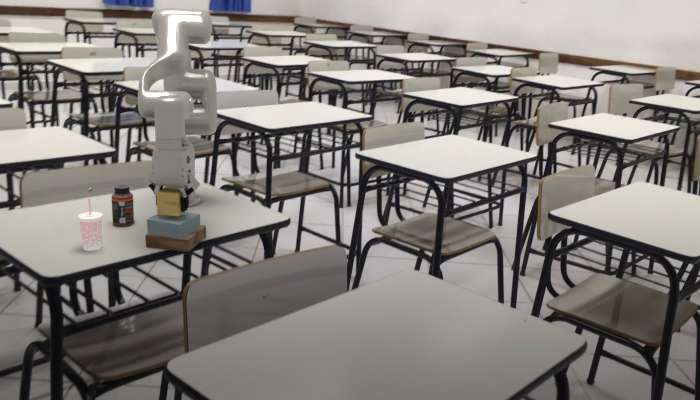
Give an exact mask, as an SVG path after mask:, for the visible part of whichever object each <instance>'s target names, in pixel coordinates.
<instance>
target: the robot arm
mask: <svg viewBox="0 0 700 400" xmlns="http://www.w3.org/2000/svg"><path fill="white" fill-rule="evenodd" d="M212 21H213V20H212V16H211V14H210V12H208V11H207V10H206V9H205V10H203V9H188V8H185V9H184V8H160V9H157V10H154V12H153V13H152V15H151V23H152V24H151V25H152V29H153V32H154V35H155V38H156V39H157V40H156V41H157V46H156V58H155V59H154V60H153V61H152V62H151V63H150V64H148V65H147V66H146V68H145V69H144V71H143V72H142V74H141V76H140V78H139V81H138V87H137V88H138V91H137V108H138V113H139V115H140V116H141V117H142V118H144V119H147V120H148V119H149V120H150V119H151V120H154V131H155V132H154V134H155V135H154V136H155V147H154V148H153V150H152V154H151V155H152V156H151V167H150V168H151V169H150V172H149V173H148V174H147V175H146V176H145V177H144V178H143V182H144V183H145V184H146V185H147V186H148V187H149V189H150V190H151V191H152V192H153V194H154V196H155V205H156V206H157V196H156V192H158V191H160V190H161V189H163V188H164V187H166V186H167V187H177V188H179V189H180V191H181V194H182V197H181V212H184V211H185V212H187V211H188V210H187V209H189V208H190V207H195V206H197V205H199V204H200V203H201V197H200V196H199V195H197V194H196V190H197V189H198V188H199V187H200V186H201V183H200V182H199V181H198V179H197V178H196V166H195V165H196V164H195V163H196V161H195V160H196V158H195V147H194V145H193V143H192V141H190V140H189V138H188V137H187V136H210V135H213V134H215V132H216V131H217V127H218V97H217V96H218V95H217V94H218V93H217V79H216V75H215V74H214V72H213V71H211V70H210V69H205V68H193V67H192V51H191V49H190V48H189V45H207V44H209V42H210V40H211V37H212V30H213V22H212ZM161 80H163V90H160V89H159V90H158V89H157V90H154V89H153V90H151V87H153V85H154V84H155V83H157V82H159V81H161ZM194 100H195V101H200V102H201V103H202V104H195V103H194ZM186 210H187V211H186Z"/></svg>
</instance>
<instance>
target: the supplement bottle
mask: <svg viewBox="0 0 700 400" xmlns="http://www.w3.org/2000/svg"><path fill="white" fill-rule="evenodd" d="M111 215H112V216H111V217H112V224H113V225H114V226H117V227H127V226H131V225H133V224H134V223H135V211H134V195H133V193H132V192H131V191H130V185H129V184H118V185H115V186H114V192H113V193H112V194H111Z"/></svg>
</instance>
